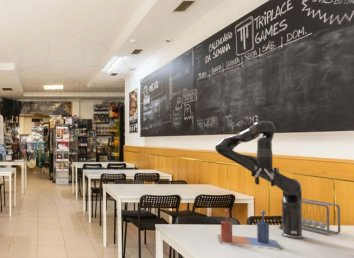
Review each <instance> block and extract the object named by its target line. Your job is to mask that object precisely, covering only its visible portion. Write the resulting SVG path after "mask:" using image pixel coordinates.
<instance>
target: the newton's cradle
mask: <svg viewBox="0 0 354 258" xmlns="http://www.w3.org/2000/svg"><path fill="white" fill-rule="evenodd" d="M302 204H304V206H308V204H309V205H311V206H316V209H319V211H321V208H320V207H323V208H326V223H325V222H324V221H323V218H320V220H321V222H319V221H318V220H317V219H316V217H317V216H318V213H316V214H315V215H313V218H314V220H312V219H311V218H310V215H311V212H312V211H313V213H315V210H314V209H312V210H310V211H309V210H308V208H306V210H307V212H309V215H308V216H307V217H308V219H307V218H305V217H304V214H305V213H306V210H304V211H303V213H304V214H303V213H302V230H304V231H307V232H313V233H316V234H320V235H325V236H327V235H331V234H335V235H338V234H339V235H340V233H341V207H340V205H338V204H337V203H332V202H326V201H319V200H313V199H308V198H302ZM329 206H335V207H336V208H337V231H334V230H331V229H330V208H329ZM319 213H320V216H324V215H325V210H323V211H322V213H323V214H322V213H321V212H319ZM281 220H282V221H281V223H282V224H283V198H282V199H281ZM314 229H315V230H314Z"/></svg>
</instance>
